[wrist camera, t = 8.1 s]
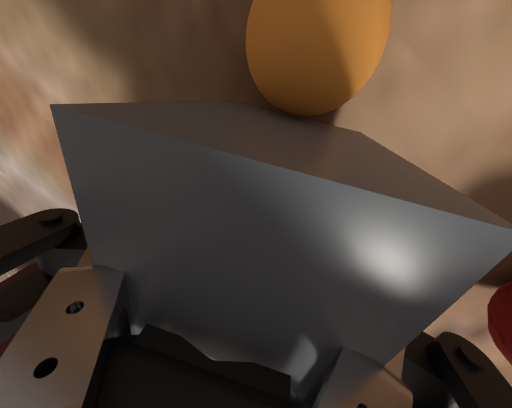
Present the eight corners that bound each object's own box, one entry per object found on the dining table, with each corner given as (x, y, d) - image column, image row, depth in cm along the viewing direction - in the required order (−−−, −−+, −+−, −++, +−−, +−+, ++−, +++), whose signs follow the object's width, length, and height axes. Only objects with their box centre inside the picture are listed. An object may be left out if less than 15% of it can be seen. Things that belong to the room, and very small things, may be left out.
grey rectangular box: (360, 132, 10) (528, 235, 2) (297, 274, 14) (289, 451, 7) (231, 100, 10) (48, 103, 3) (212, 247, 15) (125, 386, 8)
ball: (355, 87, 11) (427, -72, 6) (344, 154, 8) (449, -27, 4) (264, 68, 11) (273, -87, 7) (230, 125, 9) (212, -56, 5)
